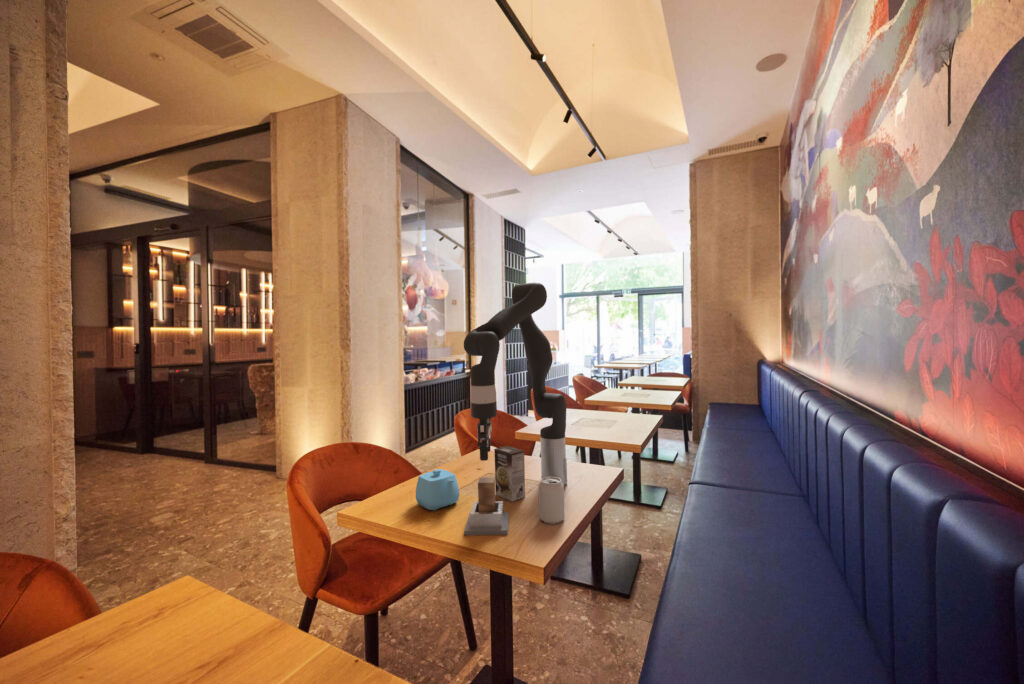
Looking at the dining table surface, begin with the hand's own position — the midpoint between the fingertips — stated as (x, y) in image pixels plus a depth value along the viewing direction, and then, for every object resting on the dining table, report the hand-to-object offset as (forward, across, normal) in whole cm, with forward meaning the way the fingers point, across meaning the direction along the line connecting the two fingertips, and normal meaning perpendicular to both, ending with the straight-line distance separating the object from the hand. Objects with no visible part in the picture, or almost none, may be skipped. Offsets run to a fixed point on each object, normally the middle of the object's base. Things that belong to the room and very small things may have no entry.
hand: (485, 455), depth 120 cm
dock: (+20, 0, 0) cm, 20 cm away
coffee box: (+21, +22, -6) cm, 31 cm away
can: (+21, +3, -19) cm, 28 cm away
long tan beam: (+19, 0, 0) cm, 19 cm away
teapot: (+21, +15, +17) cm, 31 cm away
